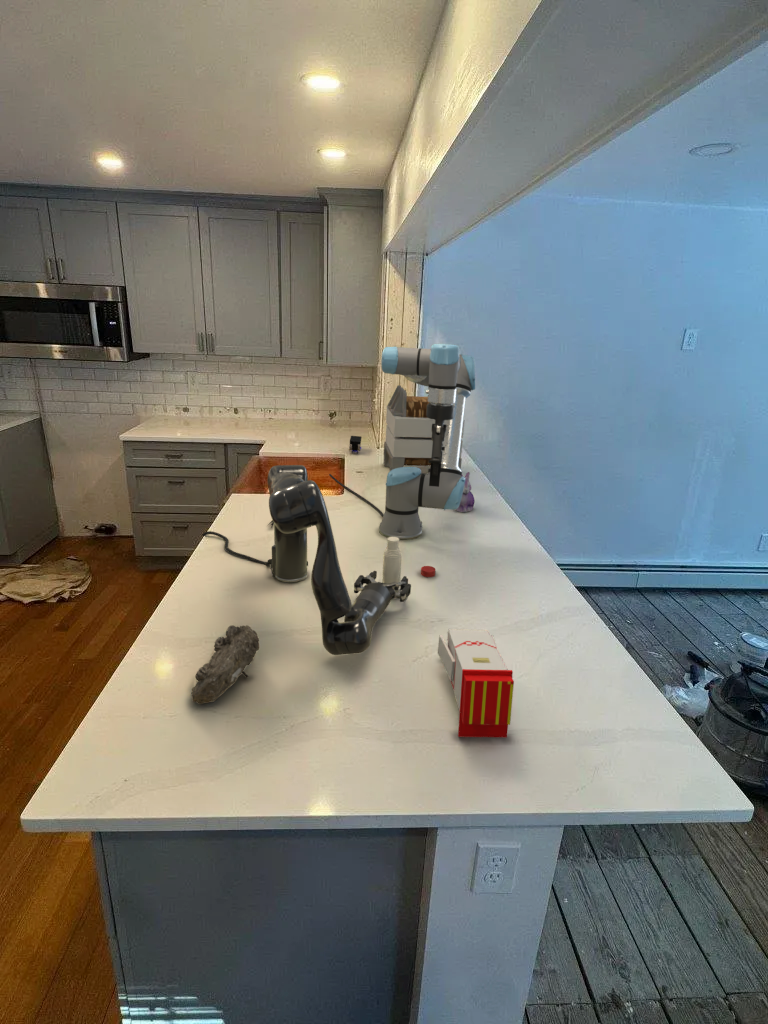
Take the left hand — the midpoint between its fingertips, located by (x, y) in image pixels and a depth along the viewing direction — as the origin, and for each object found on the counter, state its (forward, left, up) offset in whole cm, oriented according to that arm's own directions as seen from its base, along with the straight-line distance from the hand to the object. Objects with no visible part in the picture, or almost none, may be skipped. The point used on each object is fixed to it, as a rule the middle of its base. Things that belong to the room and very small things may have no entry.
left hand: (390, 576), depth 154 cm
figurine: (+6, +82, -6) cm, 82 cm away
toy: (+28, -33, -6) cm, 44 cm away
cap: (+7, +18, -5) cm, 20 cm away
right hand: (+7, +18, +24) cm, 30 cm away
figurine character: (-66, +151, -6) cm, 165 cm away
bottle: (0, +1, -6) cm, 6 cm away
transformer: (-23, +125, -6) cm, 127 cm away
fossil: (-21, -46, -6) cm, 51 cm away
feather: (-57, +44, -6) cm, 72 cm away
